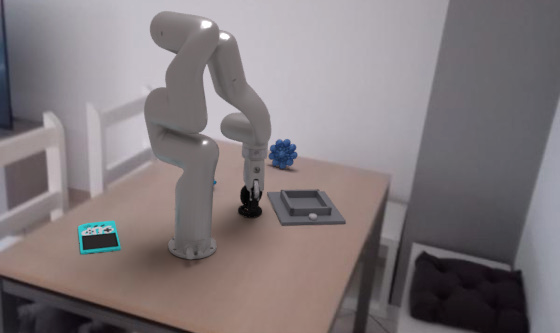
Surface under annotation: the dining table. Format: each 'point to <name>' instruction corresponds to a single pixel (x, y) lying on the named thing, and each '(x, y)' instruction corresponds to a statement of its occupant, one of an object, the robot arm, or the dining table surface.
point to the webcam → (244, 199)
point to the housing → (304, 207)
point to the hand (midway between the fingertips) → (250, 205)
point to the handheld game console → (98, 237)
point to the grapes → (283, 153)
